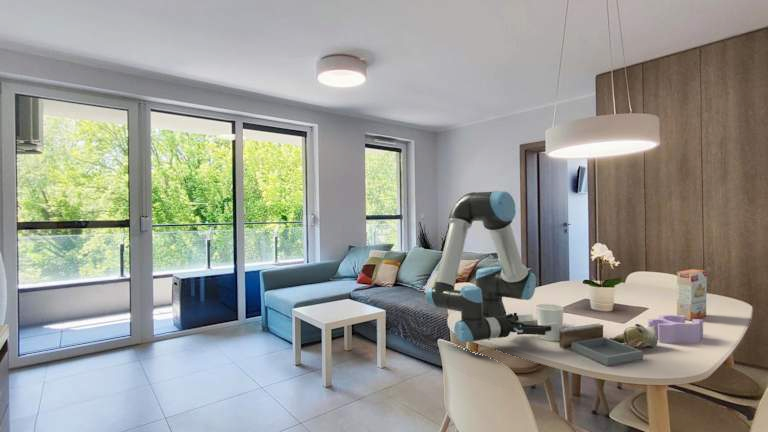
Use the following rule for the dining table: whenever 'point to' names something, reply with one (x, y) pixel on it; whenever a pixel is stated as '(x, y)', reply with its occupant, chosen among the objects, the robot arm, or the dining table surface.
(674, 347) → the dining table surface
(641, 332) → the ceramic sculpture
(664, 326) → the clip
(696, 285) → the cracker box
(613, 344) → the blue gray square tray
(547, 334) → the white cup
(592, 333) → the board
